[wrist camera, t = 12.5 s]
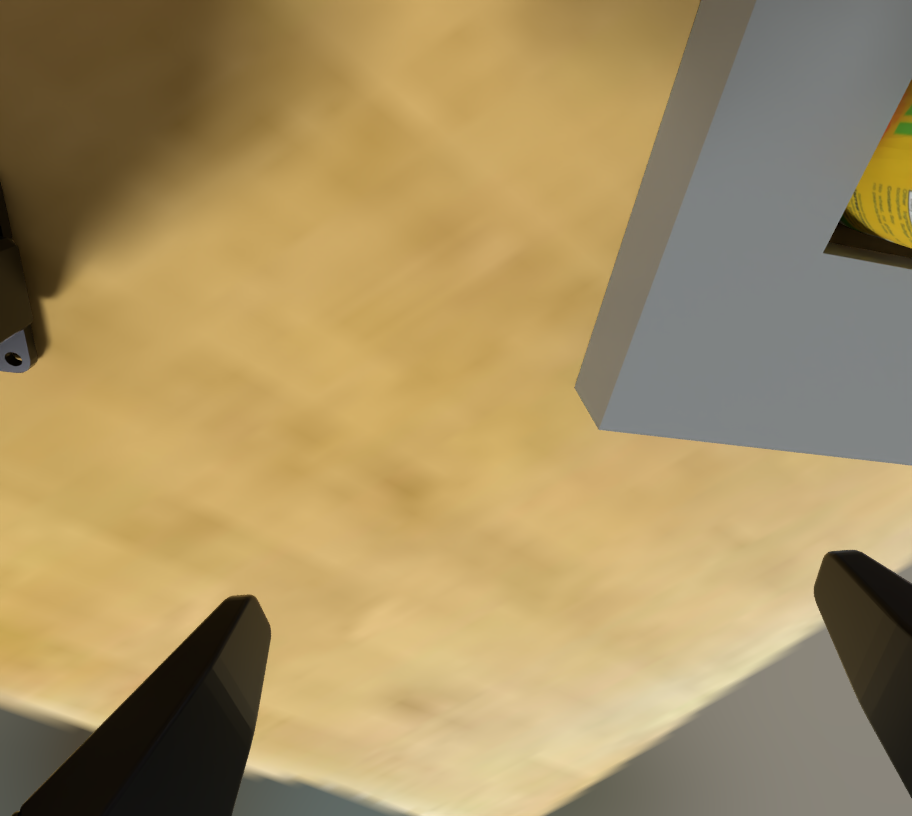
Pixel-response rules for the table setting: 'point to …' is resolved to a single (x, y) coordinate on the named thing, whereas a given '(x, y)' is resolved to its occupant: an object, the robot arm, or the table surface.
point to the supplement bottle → (887, 183)
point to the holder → (764, 243)
